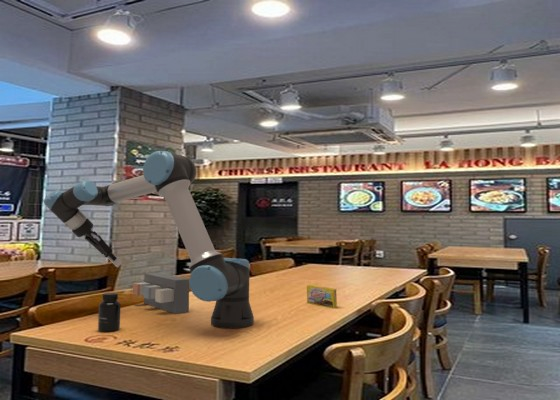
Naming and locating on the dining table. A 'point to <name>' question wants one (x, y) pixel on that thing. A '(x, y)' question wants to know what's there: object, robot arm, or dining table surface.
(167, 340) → the dining table surface
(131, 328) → the dining table surface
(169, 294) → the cream button
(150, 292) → the slate button
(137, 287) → the terracotta button
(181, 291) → the console
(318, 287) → the candy box
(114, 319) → the supplement bottle
